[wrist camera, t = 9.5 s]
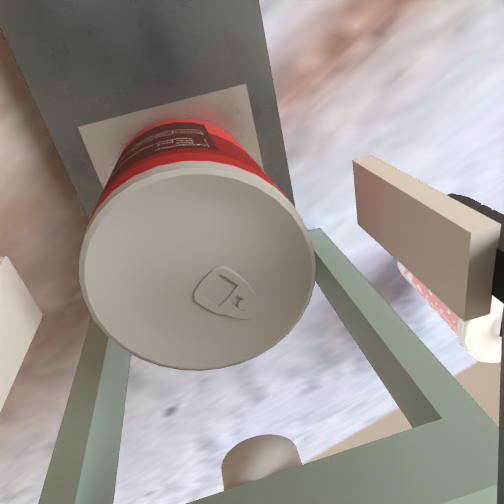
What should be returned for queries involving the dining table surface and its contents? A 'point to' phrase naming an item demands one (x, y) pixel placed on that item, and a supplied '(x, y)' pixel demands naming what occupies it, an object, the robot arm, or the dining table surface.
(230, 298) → the canned food
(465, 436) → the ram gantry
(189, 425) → the dining table surface
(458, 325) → the beverage cup
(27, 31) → the plate
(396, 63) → the dining table surface
